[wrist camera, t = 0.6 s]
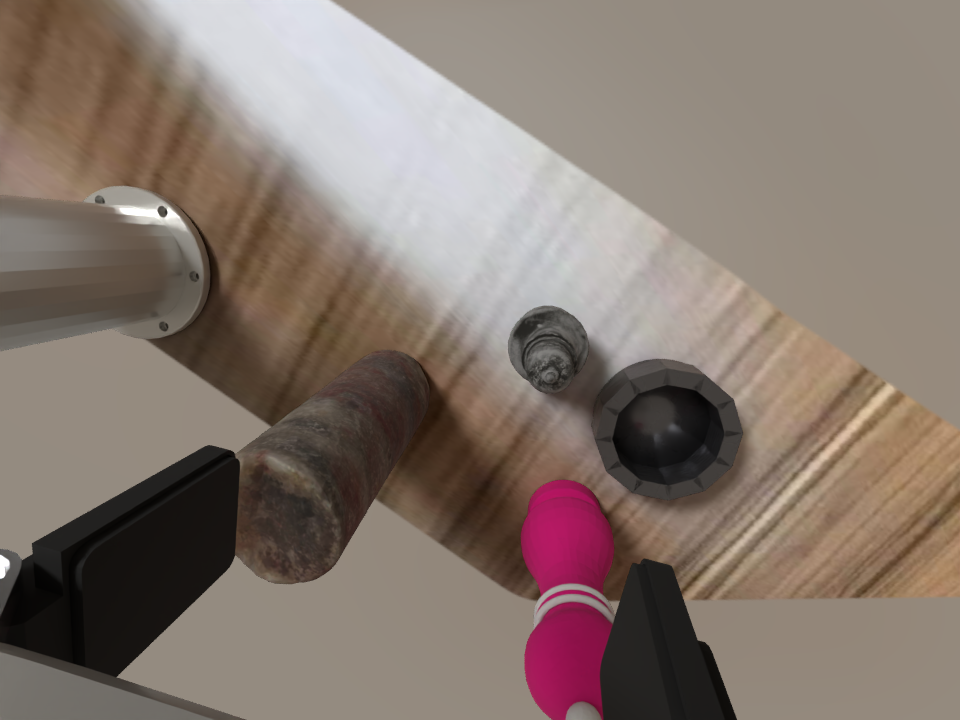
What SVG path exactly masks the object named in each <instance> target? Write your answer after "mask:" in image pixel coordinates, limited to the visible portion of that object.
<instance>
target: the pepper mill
mask: <svg viewBox="0 0 960 720" xmlns="http://www.w3.org/2000/svg"><path fill="white" fill-rule="evenodd" d="M521 549H522V554H523V558H524V561H525V563H526V566H527V568H528V570H529V571H530V573H531V574H532V576H533V577H534V579H535V580H536V582H537V583H538V586H539V589H540V593H541V597H540V598H539V600H538V602H537V604H536V606H535V610H534V630H533V632H532V633H531V635H530V637H529V639H528V641H527V645H526V650H525V674H526V681H527V684H528V687H529V689H530V692H531V694H532V697H533V698H534V700H535V702H536V703H537V705H538V706H539V707H540V709H541V710H542V711H543V712H544V713H545V714H546V715H548V716H549V717H550V718H551V719H552V720H603V710H602V698H601V687H600V666H601V661H602V657H603V654H604V651H605V648H606V644H607V641H608V638H609V635H610V632H611V628H612V625H613V622H614V619H615V615H614V611H613V608H612V606H611V604H610V603H609V601H608V600H607V599H606V598H605V597H604V596H603V583H604V580H605V578H606V576H607V574H608V572H609V570H610V568H611V565H612V561H613V556H614V542H613V534H612V530H611V527H610V525H609V523H608V521H607V519H606V518H605V516H604V515H603V514H602V513H601V510H600V506H599V503H598V500H597V499H596V497H595V495H594V494H593V493H592V492H591V491H590V490H589V489H588V488H587V487H585V486H584V485H582V484H580V483H577V482H574V481H570V480H556V481H552V482H549V483H546V484H545V485H543V486H541V487H540V488H539V489H538V490H537V491H536V492H535V493H534V494H533V496H532V497H531V499H530V502H529V506H528V516H527V517H526V519H525V521H524V524H523V527H522V531H521Z"/></svg>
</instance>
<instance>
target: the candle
mask: <svg viewBox="0 0 960 720" xmlns="http://www.w3.org/2000/svg"><path fill="white" fill-rule="evenodd" d="M429 397H430V393H429V385H428V382H427V379H426V377H425V375H424V373H423V371H422V369H421V368H420V366H419V364H418V363H417V361H416V360H415V359H413V358H412V357H410V356H409V355H407V354H405V353H402V352H398V351H391V350H380V351H376V352H372V353H371V354H369V355H367V356H365V357H363V358H362V359H360V360H359V361H358V362H356V363H355V364H353V365H352V366H351V367H349V368H348V369H347V370H345V371H344V372H343V373H342V374H340V375H339V376H338V377H337V378H336V379H334V380H333V381H332V382H330V383H329V384H328V385H327V386H325V387H324V388H323V389H322V390H320V391H319V392H318V393H316V394H315V395H313V396H312V397H311V398H309V399H308V400H307V401H306V402H304V403H303V404H302V405H301V406H299V407H298V408H296V409H295V410H293V411H292V412H290V413H289V414H288V415H286V416H285V417H284V418H283V419H282V420H280V421H279V422H278V423H277V424H275V425H274V426H272V427H271V428H270V429H268V430H267V431H265V432H264V433H263V434H261V435H260V436H259V437H258V438H256V439H255V440H254V441H252V442H251V443H249V444H248V445H247V446H245V447H244V448H243V449H241V450H240V451H239V452H238V453H236V454H235V456H236V458H237V459H238V460H239V461H240V477H239V495H238V513H237V531H236V549H235V555H236V556H237V557H238V558H240V559H241V561H242V562H243V563H244V564H245V565H246V566H247V567H248V568H250V569H251V570H252V571H253V572H254V573H255V574H256V575H257V576H258V577H260V578H263V579H265V580H267V581H268V582H272V583H278V584H294V583H299V582H307V581H312V580H315V579H317V578H319V577H320V576H322V575H324V574H325V573H327V572H328V571H329V570H331V569H332V567H333V566H334V565H335V564H336V562H337V561H338V559H339V558H340V556H341V554H342V553H343V551H344V549H345V547H346V546H347V544H348V542H349V541H350V539H351V537H352V536H353V534H354V532H355V531H356V529H357V527H358V526H359V524H360V522H361V520H362V519H363V517H364V516H365V514H366V512H367V510H368V508H369V507H370V505H371V504H372V502H373V500H374V499H375V497H376V495H377V494H378V492H379V490H380V489H381V487H382V485H383V484H384V482H385V480H386V479H387V477H388V476H389V474H390V472H391V471H392V469H393V467H394V466H395V464H396V462H397V461H398V459H399V458H400V456H401V455H402V453H403V452H404V450H405V448H406V447H407V445H408V444H409V442H410V440H411V439H412V437H413V435H414V434H415V432H416V430H417V429H418V427H419V425H420V424H421V422H422V420H423V418H424V416H425V414H426V412H427V410H428V405H429Z"/></svg>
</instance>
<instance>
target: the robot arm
mask: <svg viewBox="0 0 960 720" xmlns="http://www.w3.org/2000/svg"><path fill="white" fill-rule="evenodd" d="M209 288H210V266H209V259H208V255H207V252H206V248H205V245H204V243H203V241H202V239H201V237H200V234H199V232H198V230H197V229H196V228H195V226H194V225H193V223H192V222H191V220H190V219H189V218H188V217H187V215H186V214H185V213H184V212H183V211H182V210H181V209H180V208H179V207H178V206H176V205H175V204H174V203H172V202H171V201H170V200H168V199H167V198H165V197H163V196H161V195H159V194H157V193H155V192H153V191H150V190H146V189H143V188H138V187H130V186H111V187H108V188H104V189H101V190H98V191H96V192H95V193H93V194H91V195H89V196H88V197H87V198H86V199H85V200H84V201H83V202H75V201H64V200H53V199H41V198H30V197H19V196H8V195H0V351H4V350H9V349H14V348H19V347H24V346H28V345H33V344H38V343H43V342H48V341H53V340H58V339H62V338H68V337H73V336H77V335H82V334H87V333H92V332H97V331H102V330H107V329H114V330H116V331H118V332H120V333H122V334H124V335H127V336H131V337H135V338H142V339H153V338H161V337H165V336H169V335H173V334H175V333H177V332H179V331H181V330H183V329H185V328H186V327H187V326H189V325H190V324H191V323H192V322H193V321H194V320H195V319H196V318H197V316H198V315H199V314H200V313H201V311H202V309H203V307H204V304H205V302H206V300H207V296H208V292H209ZM239 477H240V461H239V460H238V459H237V458H236V456H235V453H234V452H233V451H231V450H227V449H223V448H219V447H215V446H210V445H208V446H205V447H203V448H201V449H200V450H198V451H196V452H194V453H192V454H191V455H189V456H187V457H185V458H183V459H182V460H180V461H178V462H176V463H175V464H173V465H171V466H169V467H167V468H166V469H164V470H162V471H160V472H159V473H157V474H155V475H153V476H151V477H150V478H148V479H146V480H144V481H142V482H141V483H139V484H137V485H135V486H133V487H132V488H130V489H128V490H126V491H125V492H123V493H121V494H119V495H118V496H116V497H114V498H112V499H110V500H108V501H107V502H105V503H103V504H101V505H100V506H98V507H96V508H94V509H93V510H91V511H89V512H87V513H85V514H83V515H82V516H80V517H78V518H76V519H75V520H73V521H71V522H69V523H67V524H66V525H64V526H62V527H60V528H58V529H57V530H55V531H53V532H51V533H50V534H48V535H46V536H44V537H43V538H41V539H39V540H37V541H35V542H34V543H32V550H33V554H32V555H30V556H29V557H27V558H25V559H24V560H22V559H21V558H20V556H19V555H18V554H17V553H15V552H12V551H10V550H6V549H0V720H245V719H242V718H239V717H236V716H233V715H230V714H227V713H224V712H221V711H218V710H214V709H212V708H209V707H206V706H202V705H200V704H196V703H193V702H190V701H187V700H184V699H181V698H178V697H175V696H172V695H168V694H166V693H163V692H159V691H156V690H153V689H150V688H147V687H144V686H141V685H138V684H135V683H132V682H129V681H126V680H123V679H120V678H116V677H117V676H118V675H119V674H120V673H121V672H122V671H123V670H124V669H125V668H126V667H127V666H128V665H129V664H130V663H131V662H132V661H133V660H134V659H136V657H138V656H139V655H140V654H141V653H142V652H143V651H144V650H145V649H146V648H147V647H148V646H149V645H150V644H151V643H152V642H153V641H154V640H155V639H156V638H157V637H158V636H159V635H160V634H161V633H162V632H164V630H166V629H167V628H168V626H170V625H171V624H172V623H173V622H174V621H175V620H176V619H177V618H178V617H179V616H180V615H181V614H182V613H183V612H184V611H185V610H186V609H187V608H188V607H189V606H190V605H191V604H192V603H194V602H195V601H196V600H197V599H198V598H199V597H200V596H201V595H202V594H203V593H204V592H205V591H206V590H207V589H208V588H209V587H210V586H211V585H212V584H213V583H214V582H215V581H216V580H217V579H218V578H219V577H220V576H221V575H223V573H225V572H226V571H227V569H228V568H229V567H230V565H231V564H232V562H233V559H234V557H235V549H236V531H237V513H238V495H239ZM600 687H601V698H602V710H603V720H737V718H736V716H735V713H734V710H733V707H732V705H731V702H730V699H729V697H728V694H727V691H726V688H725V686H724V683H723V680H722V678H721V675H720V672H719V670H718V667H717V664H716V662H715V659H714V656H713V653H712V651H711V649H710V647H709V646H708V645H707V644H706V643H705V642H702V641H698V640H697V637H696V634H695V632H694V629H693V626H692V623H691V620H690V617H689V614H688V612H687V608H686V606H685V603H684V600H683V597H682V594H681V591H680V588H679V585H678V582H677V579H676V576H675V573H674V571H673V568H672V566H670V565H667V564H663V563H660V562H656V561H652V560H648V559H643V560H642V561H641V563H640V564H636V563H633V564H632V565H631V568H630V571H629V574H628V577H627V580H626V584H625V587H624V590H623V593H622V596H621V600H620V603H619V606H618V609H617V612H616V616H615V619H614V622H613V625H612V628H611V632H610V635H609V638H608V641H607V644H606V648H605V651H604V654H603V657H602V661H601V666H600Z"/></svg>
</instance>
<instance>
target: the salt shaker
mask: <svg viewBox="0 0 960 720" xmlns="http://www.w3.org/2000/svg"><path fill="white" fill-rule="evenodd" d="M588 347H589V342H588V338H587V334H586V331H585V330H584V328H583V326H582V324H581V323H580V322H579V321H578V320H577V319H576V318H575V317H574V316H573V315H571V314H569V313H568V312H566V311H565V310H563V309H561V308H558V307H555V306H541V307H537V308H534V309H532V310H530V311H529V312H527V313H526V314H525V315H524V316H523V317H522V318H521V319H520V320H519V321H518V322H517V323H516V324H515V326H514V328H513V329H512V331H511V334H510V337H509V341H508V353H509V357H510V361H511V363H512V365H513V366H514V368H515V370H516V371H517V372H518V373H519V374H520V375H521V376H522V377H523V378H524V379H526V380H528V381H529V382H530V383H531V385H532V386H533V387H534V388H535V389H537V390H539V391H540V392H544V393H551V394H553V393H558V392H560V391H562V390H564V389H565V388H566V387H568V386H569V384H570V383H571V381H572V379H573V377H574V376H575V375H576V374H577V373H579V372H580V370H581V369H582V367H583V365H584V364H585V362H586V359H587V356H588Z"/></svg>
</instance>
